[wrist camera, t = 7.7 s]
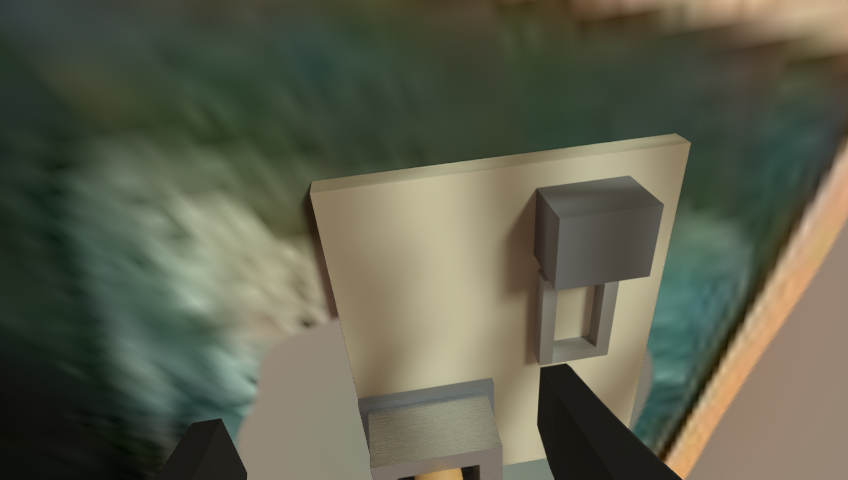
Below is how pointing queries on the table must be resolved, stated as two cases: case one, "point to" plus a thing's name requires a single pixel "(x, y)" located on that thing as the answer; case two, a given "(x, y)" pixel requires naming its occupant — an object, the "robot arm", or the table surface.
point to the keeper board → (504, 272)
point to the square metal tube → (436, 439)
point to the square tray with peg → (454, 476)
